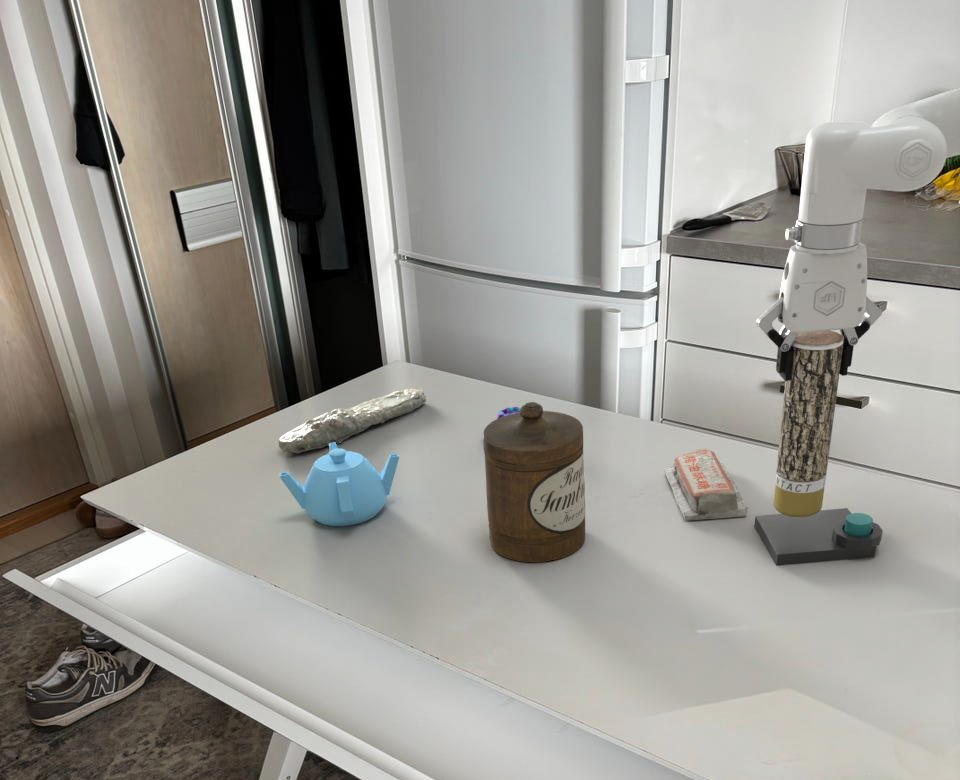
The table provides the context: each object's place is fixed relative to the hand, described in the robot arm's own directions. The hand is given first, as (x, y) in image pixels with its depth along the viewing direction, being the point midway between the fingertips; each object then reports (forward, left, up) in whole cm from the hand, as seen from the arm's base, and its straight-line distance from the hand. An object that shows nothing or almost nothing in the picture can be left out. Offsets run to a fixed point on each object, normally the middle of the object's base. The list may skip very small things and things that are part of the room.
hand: (812, 373), depth 131 cm
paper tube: (0, 0, -20) cm, 20 cm away
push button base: (-2, +1, -25) cm, 25 cm away
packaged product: (+9, -17, -26) cm, 32 cm away
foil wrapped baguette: (+69, -59, -26) cm, 95 cm away
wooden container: (+38, -7, -26) cm, 46 cm away
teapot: (+69, -23, -26) cm, 77 cm away
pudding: (+39, -47, -26) cm, 66 cm away
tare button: (-7, +5, -22) cm, 24 cm away
